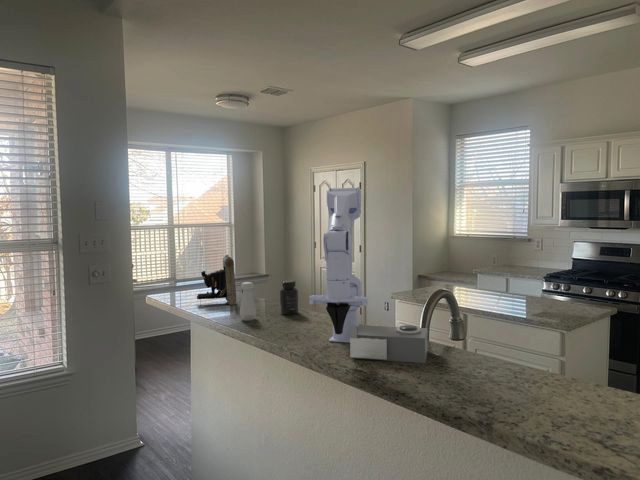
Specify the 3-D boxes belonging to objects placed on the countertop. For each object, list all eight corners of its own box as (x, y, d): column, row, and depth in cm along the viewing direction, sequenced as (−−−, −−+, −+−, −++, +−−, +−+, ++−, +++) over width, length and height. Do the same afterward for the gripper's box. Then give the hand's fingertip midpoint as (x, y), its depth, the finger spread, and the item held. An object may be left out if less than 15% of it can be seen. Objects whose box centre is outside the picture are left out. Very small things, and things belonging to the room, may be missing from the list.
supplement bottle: (278, 312, 172) (277, 280, 171) (295, 310, 175) (294, 279, 174) (283, 316, 166) (282, 283, 165) (301, 314, 168) (300, 281, 167)
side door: (351, 355, 115) (350, 325, 115) (387, 358, 113) (386, 326, 112) (350, 357, 114) (349, 326, 114) (386, 359, 112) (386, 327, 111)
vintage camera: (197, 304, 193) (193, 257, 192) (234, 300, 198) (231, 254, 196) (198, 309, 184) (194, 260, 182) (237, 305, 189) (234, 256, 187)
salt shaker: (258, 320, 160) (257, 283, 159) (241, 322, 158) (240, 284, 157) (254, 316, 165) (253, 280, 165) (238, 318, 163) (237, 282, 163)
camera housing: (359, 347, 125) (359, 321, 125) (427, 351, 120) (427, 324, 120) (351, 358, 115) (350, 330, 115) (425, 363, 110) (424, 334, 110)
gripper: (305, 280, 113) (306, 335, 113) (363, 282, 109) (364, 339, 109) (313, 276, 119) (314, 328, 120) (369, 277, 115) (369, 331, 116)
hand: (338, 333), depth 115 cm, fingers closed
